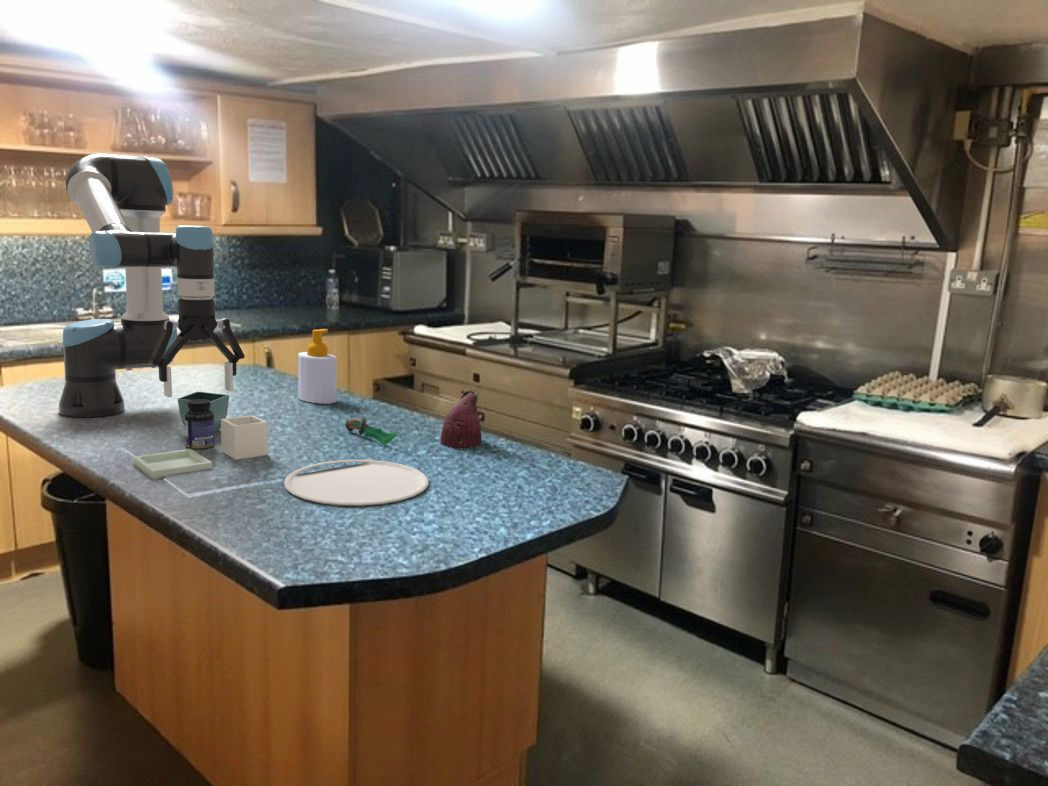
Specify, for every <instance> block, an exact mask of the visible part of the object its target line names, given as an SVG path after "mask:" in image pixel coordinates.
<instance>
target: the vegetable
mask: <svg viewBox="0 0 1048 786" xmlns="http://www.w3.org/2000/svg"><path fill="white" fill-rule="evenodd" d="M476 404H477V397H476V393H475V391H474V390H473V391H470V392H469V393H467V394H466V395H465V396H464V397H462V398H461V399H460V400H459V401H458V402H456V403H455V404H454V405H453V407H452V408H450V410H449V411H448V412H447V414H446V416H445V418H444V421H443V425H442V428H441V432H440V444H441V445H442V444H443V445H445V447H447V446H448V447H447V448H450V447H452V448H451V449H455V448H460V449H459V450H465V449H464V448H470V449H472V448H471V447H474V448H477V447H476V446H479V447H481V446H482V431H481V422H480V418H479V415H478V410H477V405H476ZM443 445H442V446H443ZM480 445H481V446H480ZM461 448H463V449H461Z"/></svg>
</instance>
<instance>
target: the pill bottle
mask: <svg viewBox="0 0 1048 786" xmlns="http://www.w3.org/2000/svg"><path fill="white" fill-rule="evenodd" d="M209 407H210V401H209V400H206V399H195V400H190V401H188V408H189V411H188V412H187V413H186V414H185V426H184V427H185V428H184V429H185V430H184V431H185V448H186V449H192V450H193V451H205V450H209V449H213V448H215V445H216V442H215V440H216V439H215V432H214V414H213V412H212V411H210V410H209Z"/></svg>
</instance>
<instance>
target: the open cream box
mask: <svg viewBox="0 0 1048 786" xmlns="http://www.w3.org/2000/svg"><path fill="white" fill-rule="evenodd" d="M220 441H221V444H220V445H221V452H222V454H225V455H227V456H228V457H230V459H231V458H232V459H234V460H243V459H249V458H255V457H262V456H263V457H264V456H268V422H267V421H265V420H264V419H261V418H260V417H257V416H255V415H254V414H253V415H252V414H251V415H244V416H235V417H228V418H227V417H226V419H221V429H220Z"/></svg>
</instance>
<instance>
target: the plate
mask: <svg viewBox="0 0 1048 786" xmlns="http://www.w3.org/2000/svg"><path fill="white" fill-rule="evenodd" d="M354 462H355V463H356V462H357V463H356V464H350V465H345V466H338V467H334V468H328V469H322V470H317V471H311V472H304V473H300V472H303V471H305V470H308V469H310V468H311V469H312V468H315V467H319V466H323V465H329V464H337V463H354ZM359 462H360V463H359ZM299 473H300V474H299ZM283 485H284V488H285V490H286V491H287V492H289V493H291V494H292V495H293V496H295V497H297V498H300V499H302V500H304V501H305V500H306V501H309V502H314V503H318V504H323V505H333V506H346V507H349V506H350V507H364V506H365V507H367V506H376V505H377V506H378V505H386V504H392V503H397V502H400V501H404V500H407V499H411V498H414V497H415V496H418V495H419V494H421V493H423V492H424V491H425V490H426V489H427V488H428V487H429V478H428V476H426V474H425V473H423V472H422V471H421V470H418V469H417V468H415V467H411V466H408V465H405V464H401V463H396V462H392V461H384V460H377V459H376V460H374V459H341V460H340V459H339V460H333V461H325V462H323V461H322V462H319V463H314V464H311V465H306V466H303V467H301V468H298V469H296V470H294V471H292V472H291V473H290V474H288V475H286V477H285V479H284V480H283Z"/></svg>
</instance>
